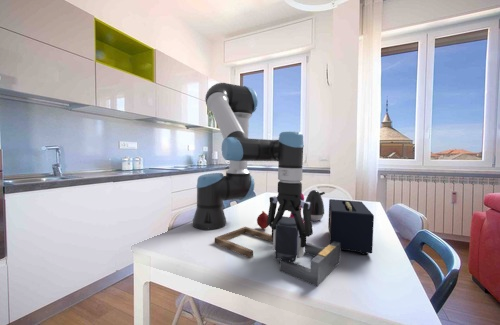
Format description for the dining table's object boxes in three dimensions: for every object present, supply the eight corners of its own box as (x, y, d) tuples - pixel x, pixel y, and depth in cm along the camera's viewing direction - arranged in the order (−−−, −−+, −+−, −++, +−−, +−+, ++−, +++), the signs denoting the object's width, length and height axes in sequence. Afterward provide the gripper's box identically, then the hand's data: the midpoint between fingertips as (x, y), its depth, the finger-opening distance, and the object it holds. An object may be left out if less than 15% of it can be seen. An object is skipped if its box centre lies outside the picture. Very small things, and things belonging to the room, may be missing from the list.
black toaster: (328, 231, 95) (329, 197, 95) (360, 235, 91) (362, 199, 91) (330, 252, 75) (331, 208, 74) (372, 258, 71) (374, 212, 70)
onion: (271, 228, 98) (271, 210, 97) (268, 232, 92) (268, 213, 92) (258, 226, 99) (259, 208, 99) (255, 230, 94) (255, 212, 94)
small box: (296, 262, 64) (297, 227, 63) (274, 259, 66) (274, 224, 65) (299, 248, 74) (300, 217, 73) (280, 245, 76) (280, 215, 75)
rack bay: (279, 270, 62) (280, 249, 61) (306, 251, 75) (307, 233, 74) (317, 286, 55) (318, 262, 54) (339, 262, 68) (340, 242, 67)
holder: (214, 243, 80) (214, 237, 80) (245, 231, 93) (245, 226, 93) (250, 258, 69) (250, 252, 69) (279, 242, 82) (279, 237, 82)
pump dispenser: (327, 222, 107) (328, 192, 107) (306, 222, 107) (307, 191, 107) (320, 216, 117) (321, 188, 117) (301, 216, 117) (302, 188, 117)
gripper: (256, 179, 73) (254, 246, 74) (316, 186, 59) (313, 268, 60) (269, 177, 78) (267, 240, 79) (326, 183, 65) (324, 258, 66)
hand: (287, 252), depth 70 cm, fingers closed on small box, 8 cm apart
